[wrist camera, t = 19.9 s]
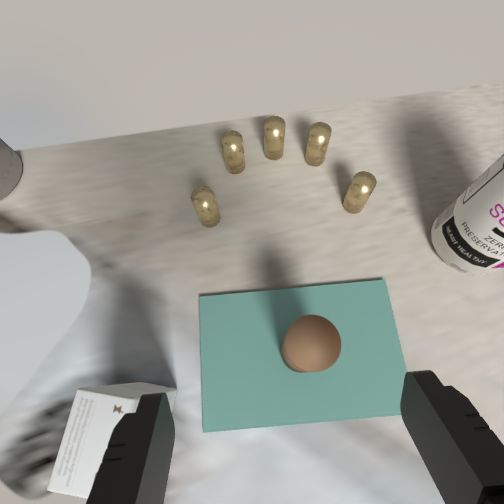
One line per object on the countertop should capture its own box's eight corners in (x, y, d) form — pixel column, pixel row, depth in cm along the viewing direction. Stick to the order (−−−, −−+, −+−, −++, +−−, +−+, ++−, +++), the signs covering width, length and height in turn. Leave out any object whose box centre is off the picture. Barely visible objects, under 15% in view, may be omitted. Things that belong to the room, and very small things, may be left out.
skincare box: (137, 381, 33) (72, 382, 22) (181, 388, 33) (136, 393, 22) (120, 450, 31) (37, 491, 20) (166, 459, 31) (108, 506, 20)
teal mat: (203, 431, 32) (203, 432, 31) (199, 297, 36) (199, 296, 36) (414, 413, 31) (416, 413, 31) (383, 280, 36) (385, 279, 36)
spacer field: (200, 228, 39) (191, 207, 35) (197, 151, 43) (189, 124, 38) (365, 212, 39) (378, 190, 34) (347, 137, 43) (357, 108, 38)
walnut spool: (282, 374, 33) (288, 373, 23) (278, 332, 34) (282, 316, 25) (323, 371, 33) (345, 369, 23) (317, 329, 34) (336, 312, 25)
